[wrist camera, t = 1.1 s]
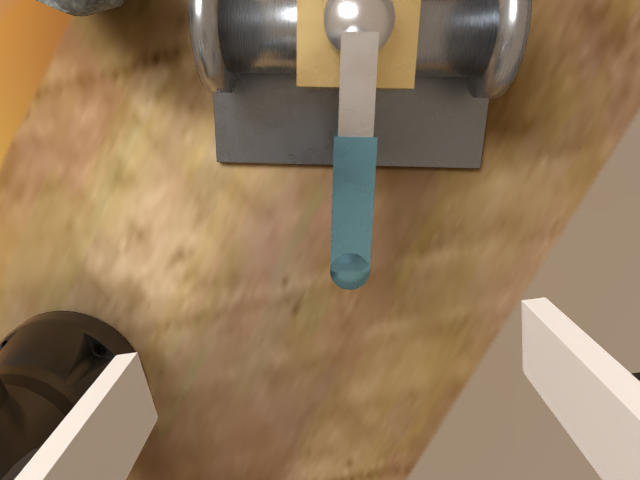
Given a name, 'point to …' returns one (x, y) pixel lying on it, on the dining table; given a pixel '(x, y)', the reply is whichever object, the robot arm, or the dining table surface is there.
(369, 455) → the dining table surface
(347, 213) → the lever
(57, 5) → the mortar and pestle
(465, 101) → the valve body
